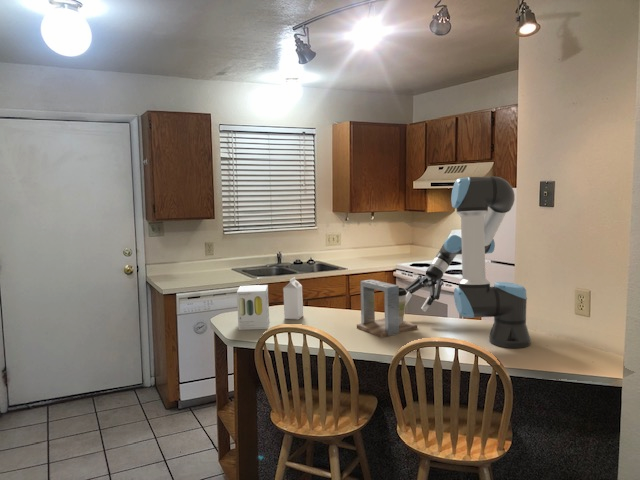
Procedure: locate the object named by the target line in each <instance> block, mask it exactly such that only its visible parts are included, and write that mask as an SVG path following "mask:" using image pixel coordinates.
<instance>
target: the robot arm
mask: <svg viewBox="0 0 640 480" xmlns="http://www.w3.org/2000/svg"><path fill="white" fill-rule="evenodd" d="M450 196H451V197H450V198H451V200H450V202H451V206H452V208H454V209H455V210H456V214H458V216H459V217H460V231H461V232H460V236H459V235H457V234H452V235H449V236H448V237H447V238H446V239H445V241H444V242H443V244H442V246H441V247H440V249H439V250H438V252H437V254H436V256H435V257H434V259H433V260H432V261H431V263H430V265H429V266H428V267H427V269H426V270H425V275H424V276H422V275H421V274H419V275H418V276H417V278H416V279H414V280H413V281H412V282H411V283H409V285H407V287H405V288H404V289H405V290H406V292H407V294H406V299H405V300H406V303H405V307H406V306H407V304H408V303H409V301H410V299H411V298H412V296H413V294H414V293H416V292H417V291H419V290H421V289H422V288H429V296H427V298H426V299H425V301H424V302H423V304H422V305H421V308H420V310H422V311H423V312H424V313H426V312H427V310H428V308H429V307H430V306H431V305H433V303H434V301H435V300H437V301H439V299H440V296H441V290H442V286H443V285H444V281H443V280H442V278H443V277H444V274H445V273H446V272H447V270H448V268H449V267H450V265H451V264H452V262H453V260H454V259H455V258H456V256H457V255H461V271H462V273H461V274H462V278H461V280H459V281H458V286H456V287H454V289H453V298H454V299H453V300H454V304H455V308H456V311H457V313H458V314H459V315H460V316H461V317H463V318H472V319H473V318H474V319H475V318H493V324H492V327H491V329H490V332H489V336H488V337H489V339H488V342H489V343H491V344H492V345H495V346H498V347H502V348H506V349H507V348H509V349H521V348H527V347H528V346H531V343H532V342H531V336H530V334H529V330H528V326H527V300H528V298H527V289H526V287H524V286H523V285H522V284H521V285H520V284H519V283H513V282H507V281H495V282H494V284H493V286H491V282H490V281H489V280H488V279H487V278H486V276H487V275H486V254H492V253H493V252H494V250H495V246H496V242H495V239H494V237H495V236H496V234H497V232H498V230H499V228H500V226H501V223H502V222H503V219H504V218H505V217H506V216H505V215H506V214H507V213H509V212H510V211H511V210H512V208H513V205H514V204H515V199H516V198H515V191H514V189H513V187H512V185H511V184H510V182H508V181H507V180H506V179H504V178H502V177H500V176H467V177H459V178H457V179H456V180H455V182H454V183H453V187H452V190H451V195H450Z"/></svg>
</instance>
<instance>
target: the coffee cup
mask: <svg viewBox="0 0 640 480" xmlns="http://www.w3.org/2000/svg"><path fill="white" fill-rule="evenodd" d="M406 294H407V291H406V289H405V288H404V287H399V324H402V323H403V321H404V316H405V312H406V311H405V310H406V306H405V303H406V300H405V299H406Z"/></svg>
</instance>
